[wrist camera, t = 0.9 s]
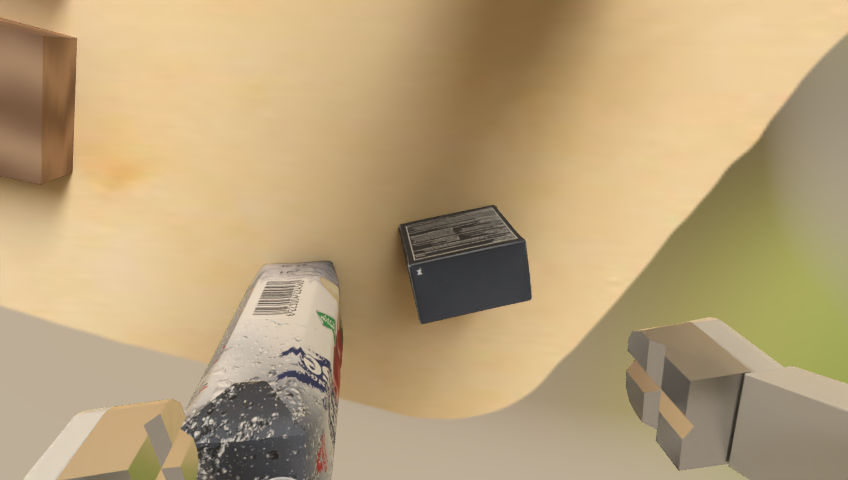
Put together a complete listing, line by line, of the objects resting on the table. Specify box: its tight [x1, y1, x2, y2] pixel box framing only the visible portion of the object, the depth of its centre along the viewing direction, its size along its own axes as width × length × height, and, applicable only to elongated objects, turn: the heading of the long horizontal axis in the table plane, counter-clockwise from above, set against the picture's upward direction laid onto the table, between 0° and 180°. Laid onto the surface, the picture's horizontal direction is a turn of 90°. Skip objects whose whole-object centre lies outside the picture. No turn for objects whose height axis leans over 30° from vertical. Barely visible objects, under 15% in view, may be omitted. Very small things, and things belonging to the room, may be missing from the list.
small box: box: [398, 205, 532, 324], centre depth 47 cm, size 11×6×10 cm, turn 101°
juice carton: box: [181, 261, 343, 480], centre depth 40 cm, size 9×10×27 cm
